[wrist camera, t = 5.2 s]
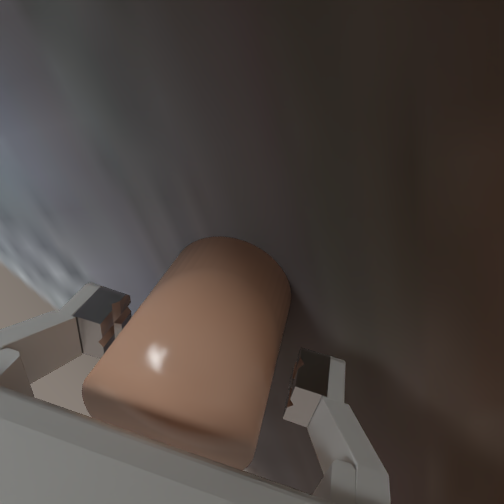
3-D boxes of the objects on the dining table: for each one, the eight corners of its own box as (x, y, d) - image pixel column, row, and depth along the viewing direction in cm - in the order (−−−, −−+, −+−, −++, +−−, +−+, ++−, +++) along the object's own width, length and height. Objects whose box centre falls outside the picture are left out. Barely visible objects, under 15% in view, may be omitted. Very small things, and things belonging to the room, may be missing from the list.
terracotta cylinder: (171, 314, 16) (91, 441, 11) (175, 221, 13) (70, 338, 9) (277, 347, 16) (240, 495, 11) (304, 257, 13) (272, 403, 8)
